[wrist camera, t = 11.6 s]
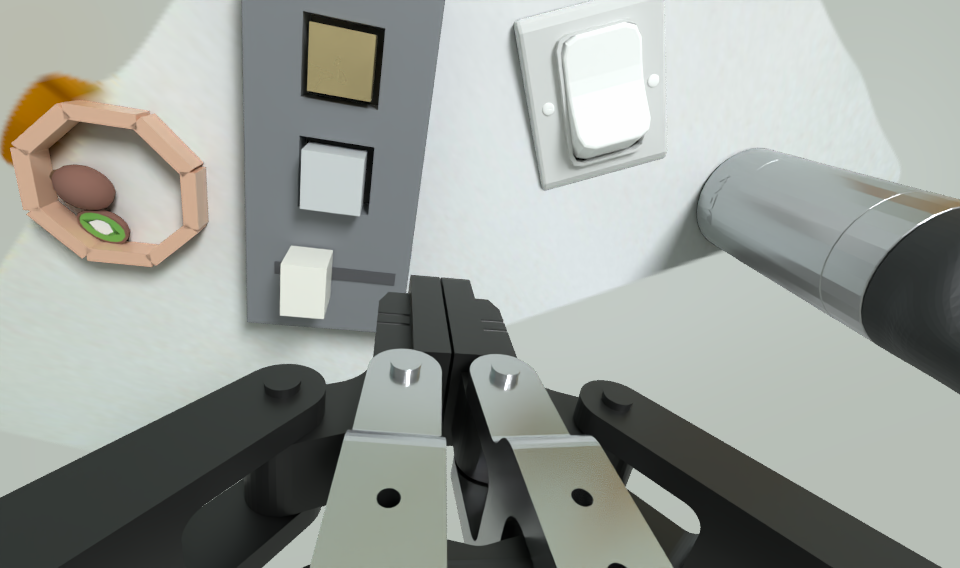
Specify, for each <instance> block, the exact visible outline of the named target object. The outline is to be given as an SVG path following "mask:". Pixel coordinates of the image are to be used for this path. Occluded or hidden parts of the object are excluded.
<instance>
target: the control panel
mask: <svg viewBox="0 0 960 568" xmlns="http://www.w3.org/2000/svg"><path fill="white" fill-rule="evenodd" d="M444 4H445V0H242V42H243V99H244V156H245V212H246V269H247V322H253V323H266V324H279V325H291V326H304V327H316V328H329V329H341V330H354V331H367V332H376V326H377V316H378V306H379V300H380V299H382V298H383V297H384V296H385V295H386V294H387V293H388V292H397V293H406V288H407V281H408V273H409V266H410V259H411V251H412V244H413V236H414V229H415V221H416V214H417V206H418V199H419V191H420V184H421V176H422V169H423V161H424V154H425V146H426V139H427V131H428V124H429V116H430V109H431V101H432V94H433V87H434V79H435V72H436V64H437V57H438V49H439V42H440V34H441V27H442V19H443V12H444ZM311 14H312V15H317V16H321V17H326V18H331V19H336V20H340V21H345V22H350V23H355V24H359V25H364V26H369V27H374V28H378V29H383V30H385V38H384V49H383V60H382V71H381V82H380V93H379V104H378V105H372V104H367V103H361V102H356V101H350V100H344V99H339V98H333V97H327V96H322V95H316V94H310V93H308V91H307V77H308V47H309V21H311ZM307 137H312V138H318V139H325V140H331V141H337V142H344V143H350V144H356V145H362V146H369V147H374V158H373V169H372V180H371V191H370V202H369V204H366V203H363V206H362V210H361V214H360V216H353V215H345V214H337V213H329V212H322V211H314V210H306V209H300V183H301V150H302V148H304V147H305V146H306V145H307ZM291 245H292V246H301V247H309V248H318V249H327V250H333V260H332V276H331V293H330V300H329V303H328V306H327V310H326V313H325V317H324V319H316V318H304V317H292V316H280V269H281V262H282V261H283V259H284V257H285V255H286V254H287V252H288V250H289V248H290V247H291Z"/></svg>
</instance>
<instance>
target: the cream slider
mask: <svg viewBox="0 0 960 568" xmlns="http://www.w3.org/2000/svg"><path fill="white" fill-rule="evenodd" d="M332 260H333V250H327V249H318V248H309V247H301V246H292V245H291V247H290V248H289V250H288V252H287V254H286V255H285V257H284V259H283V261H282V262H281V269H280V316H292V317H304V318H316V319H324V317H325V313H326V310H327V306H328V303H329V300H330V293H331V276H332Z"/></svg>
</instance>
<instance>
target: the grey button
mask: <svg viewBox="0 0 960 568" xmlns="http://www.w3.org/2000/svg"><path fill="white" fill-rule="evenodd" d="M366 162H367V151H365V150H359V149H353V148H346V147H340V146H333V145H327V144H321V143H314V142H309V143H308V144H307V145H306V146H305V147H304V148H302V150H301V183H300V209H306V210H314V211H322V212H329V213H337V214H345V215H353V216H360V214H361V210H362V206H363V198H364V186H365V174H366Z"/></svg>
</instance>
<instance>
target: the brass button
mask: <svg viewBox="0 0 960 568" xmlns="http://www.w3.org/2000/svg"><path fill="white" fill-rule="evenodd" d="M377 45H378V36H377V35H374V34H369V33H364V32H359V31H354V30H350V29H345V28H340V27H335V26H330V25H325V24H321V23H316V22H311V21H309V47H308V77H307V91H311V92H317V93H323V94H328V95H334V96H339V97H345V98H351V99H356V100H362V101H367V102H371V100H372V99H373V91H374V79H375V68H376V56H377Z"/></svg>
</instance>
